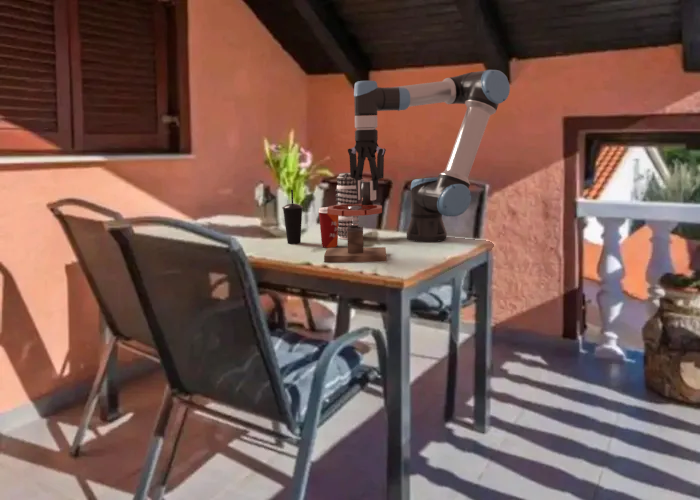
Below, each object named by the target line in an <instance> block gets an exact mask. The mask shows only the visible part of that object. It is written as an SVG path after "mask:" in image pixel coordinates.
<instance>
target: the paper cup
mask: <svg viewBox="0 0 700 500" xmlns="http://www.w3.org/2000/svg"><path fill="white" fill-rule="evenodd" d="M328 207H329V206H326V207H319V208H318V215H319V217H318V218H319V227H320V228H319V229H320V237H321V246H322V248H325V249H327V248H338V245H339V243H338V242H339V241H338V240H339V239H338V217H339V215H332V214H327V209H328Z"/></svg>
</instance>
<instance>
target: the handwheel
mask: <svg viewBox="0 0 700 500" xmlns="http://www.w3.org/2000/svg"><path fill="white" fill-rule="evenodd" d="M327 207H328V209H327V214H332V215H340V216H352V220H351V221H352V226H353V228H358V225H359V226H360V223H359V222H360V219H359V216H371V215H372V216H373V215H378V214H382V213H383V205H380V204H375V203H374V200H370V181H364V182H361V200H360V203H359V204H342V205H336V204H334V205H328V206H327ZM358 221H359V222H358Z"/></svg>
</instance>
